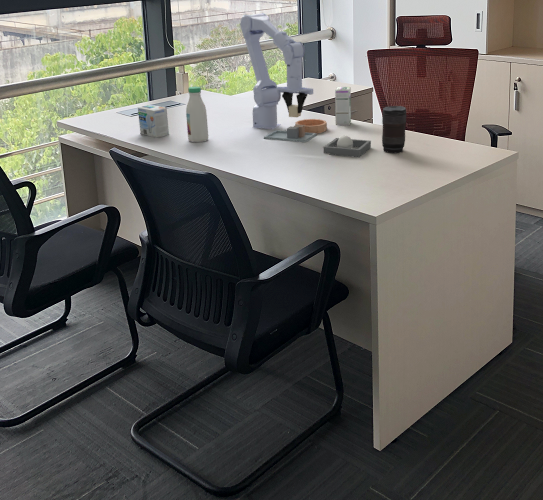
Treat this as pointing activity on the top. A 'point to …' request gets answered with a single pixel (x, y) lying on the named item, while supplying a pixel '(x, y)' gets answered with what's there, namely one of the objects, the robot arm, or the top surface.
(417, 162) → the top surface
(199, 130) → the milk bottle
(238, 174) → the top surface
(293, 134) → the plain grey cube
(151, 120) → the light bulb box
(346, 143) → the pale grey egg
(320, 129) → the bowl
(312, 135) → the parts tray
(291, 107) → the cream matte cube
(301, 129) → the cardboard tan cube
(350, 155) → the grey square tray
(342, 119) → the syrup box
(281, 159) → the top surface
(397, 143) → the camera lens
